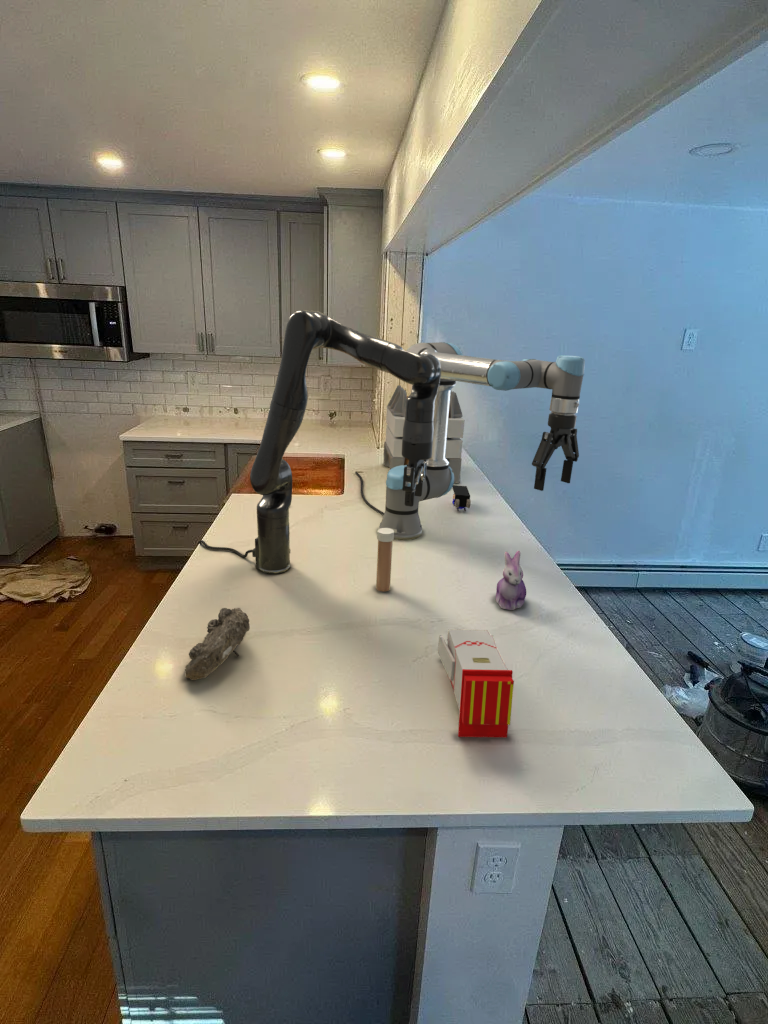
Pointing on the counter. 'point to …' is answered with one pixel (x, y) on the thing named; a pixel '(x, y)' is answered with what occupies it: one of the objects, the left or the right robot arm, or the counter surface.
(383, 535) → the lid
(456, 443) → the white slatted crate
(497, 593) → the figurine
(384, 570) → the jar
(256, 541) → the left robot arm
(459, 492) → the figurine character
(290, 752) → the counter surface
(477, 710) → the toy
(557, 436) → the right robot arm
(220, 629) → the fossil
